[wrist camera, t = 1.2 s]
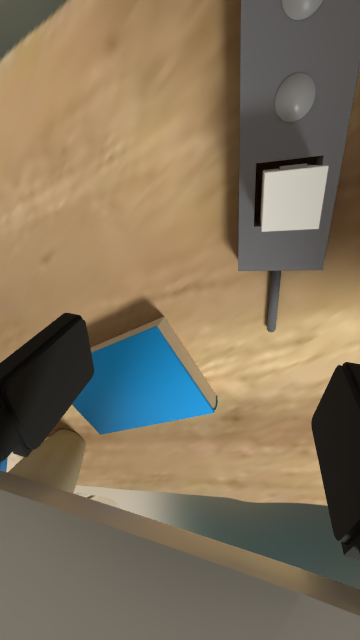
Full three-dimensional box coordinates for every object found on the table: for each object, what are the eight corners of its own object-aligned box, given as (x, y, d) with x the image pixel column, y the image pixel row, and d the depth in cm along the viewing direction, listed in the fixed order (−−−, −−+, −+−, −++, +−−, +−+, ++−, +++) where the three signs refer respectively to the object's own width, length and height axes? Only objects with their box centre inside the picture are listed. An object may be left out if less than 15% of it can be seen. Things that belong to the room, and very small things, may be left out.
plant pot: (89, 465, 65) (47, 542, 52) (37, 435, 64) (-19, 506, 51) (110, 442, 57) (66, 527, 44) (51, 407, 56) (-12, 484, 42)
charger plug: (308, 161, 23) (329, 161, 17) (302, 211, 26) (318, 228, 19) (262, 166, 24) (265, 168, 18) (260, 214, 27) (261, 231, 20)
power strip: (244, -79, 18) (241, -129, 15) (380, -129, 15) (410, -198, 13) (238, 328, 34) (237, 343, 31) (304, 330, 32) (309, 348, 29)
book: (41, 373, 44) (153, 327, 33) (58, 358, 48) (163, 310, 36) (102, 437, 50) (216, 417, 38) (113, 419, 54) (219, 395, 42)
